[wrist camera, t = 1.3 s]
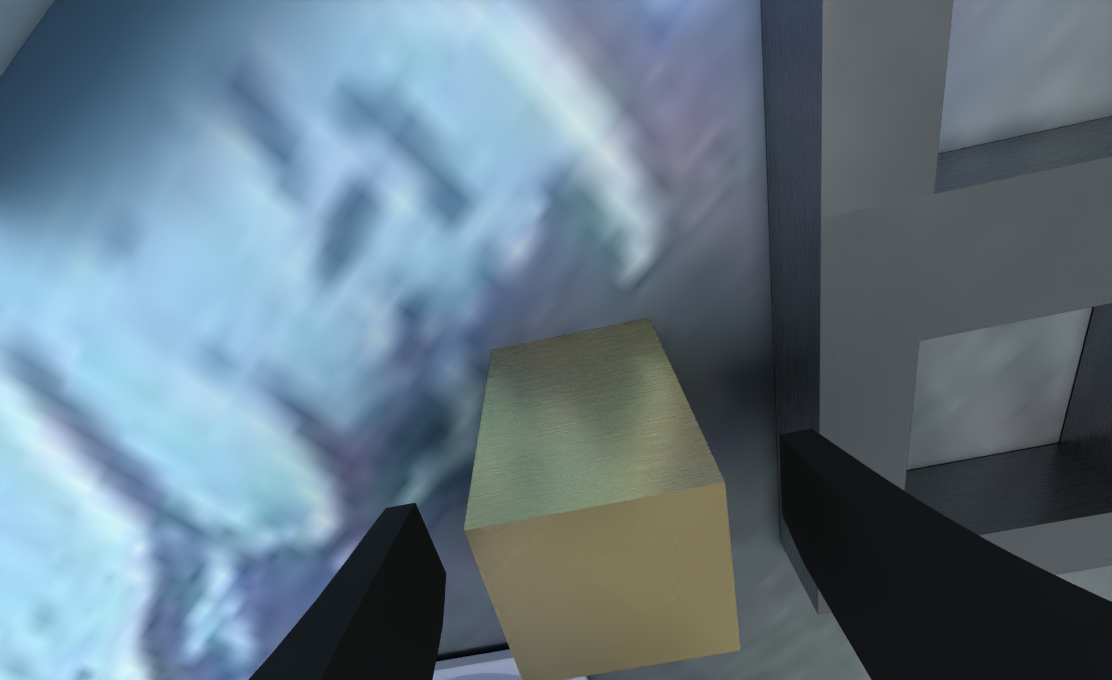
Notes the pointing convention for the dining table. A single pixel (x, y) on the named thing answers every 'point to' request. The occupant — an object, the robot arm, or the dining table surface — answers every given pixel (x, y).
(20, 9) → the grey piece
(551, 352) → the tan rectangular block
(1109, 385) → the grey peg hole base
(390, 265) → the dining table surface
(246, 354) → the dining table surface
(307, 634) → the robot arm
